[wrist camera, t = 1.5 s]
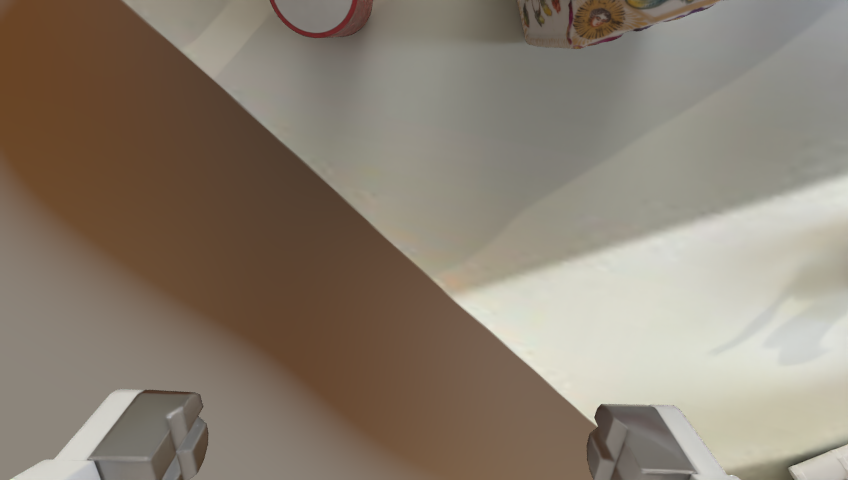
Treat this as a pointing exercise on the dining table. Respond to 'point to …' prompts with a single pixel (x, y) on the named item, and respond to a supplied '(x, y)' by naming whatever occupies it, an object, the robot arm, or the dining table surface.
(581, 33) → the decorative jar
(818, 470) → the egg carton
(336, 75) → the dining table surface
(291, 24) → the can
